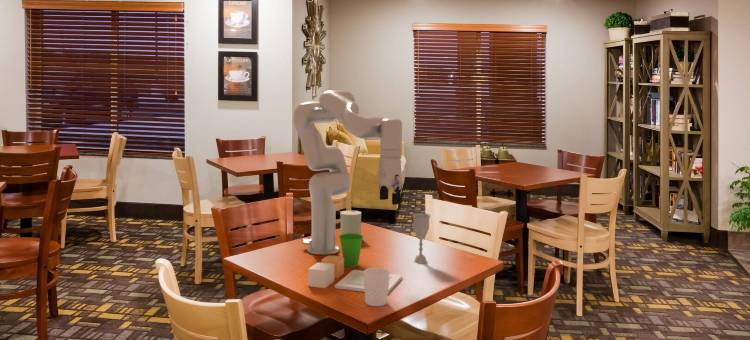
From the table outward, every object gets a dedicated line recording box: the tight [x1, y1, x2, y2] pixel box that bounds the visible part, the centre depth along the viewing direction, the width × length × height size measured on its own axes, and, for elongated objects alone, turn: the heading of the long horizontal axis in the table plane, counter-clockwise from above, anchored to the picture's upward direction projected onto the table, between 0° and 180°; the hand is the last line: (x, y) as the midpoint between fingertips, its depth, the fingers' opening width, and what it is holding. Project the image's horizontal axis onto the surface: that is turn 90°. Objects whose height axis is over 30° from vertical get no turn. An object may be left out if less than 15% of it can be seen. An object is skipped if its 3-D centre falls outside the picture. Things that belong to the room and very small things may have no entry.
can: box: [339, 209, 362, 236], centre depth 265 cm, size 9×9×12 cm
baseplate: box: [334, 269, 403, 294], centre depth 207 cm, size 18×18×1 cm
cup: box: [338, 233, 364, 268], centre depth 226 cm, size 9×9×11 cm
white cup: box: [363, 267, 391, 307], centre depth 188 cm, size 8×8×10 cm
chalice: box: [412, 212, 432, 264], centre depth 232 cm, size 7×7×18 cm
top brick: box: [321, 255, 345, 279], centre depth 215 cm, size 6×6×6 cm
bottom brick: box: [307, 261, 335, 289], centre depth 206 cm, size 6×8×6 cm
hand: (389, 201), depth 217 cm, fingers open, 9 cm apart
